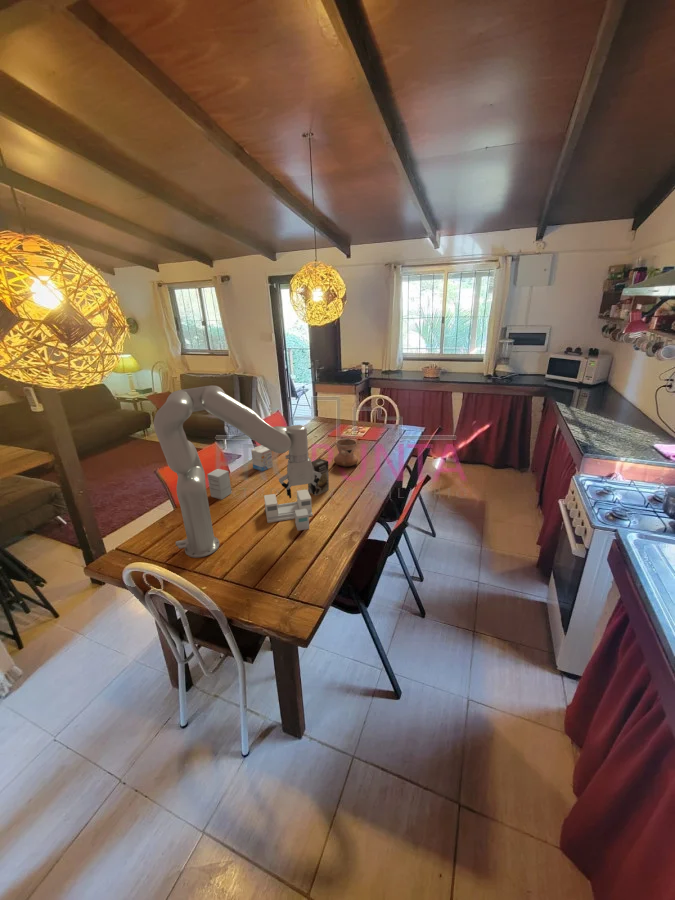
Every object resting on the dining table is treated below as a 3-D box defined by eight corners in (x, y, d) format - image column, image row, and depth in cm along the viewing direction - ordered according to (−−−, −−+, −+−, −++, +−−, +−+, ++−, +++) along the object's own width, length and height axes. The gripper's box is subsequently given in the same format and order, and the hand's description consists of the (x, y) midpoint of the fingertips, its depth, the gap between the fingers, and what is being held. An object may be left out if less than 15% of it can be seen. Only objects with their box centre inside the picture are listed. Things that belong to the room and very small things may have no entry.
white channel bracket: (267, 522, 150) (266, 506, 147) (265, 508, 160) (263, 493, 158) (312, 515, 155) (312, 500, 152) (307, 502, 166) (306, 487, 163)
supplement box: (221, 490, 178) (217, 468, 173) (232, 493, 175) (229, 470, 170) (210, 496, 172) (206, 473, 167) (221, 499, 169) (218, 476, 164)
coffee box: (316, 496, 171) (315, 466, 165) (307, 492, 175) (306, 463, 170) (329, 489, 178) (328, 461, 172) (320, 485, 182) (319, 457, 176)
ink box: (262, 471, 199) (260, 450, 194) (252, 468, 203) (250, 447, 198) (273, 466, 205) (271, 445, 200) (263, 463, 210) (261, 442, 205)
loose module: (297, 531, 144) (296, 516, 141) (295, 524, 149) (294, 510, 146) (309, 529, 145) (308, 514, 143) (306, 522, 150) (306, 508, 147)
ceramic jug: (354, 470, 199) (355, 447, 194) (330, 468, 202) (330, 445, 197) (360, 459, 215) (361, 438, 210) (338, 457, 218) (338, 435, 213)
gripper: (278, 463, 130) (281, 502, 136) (322, 457, 134) (324, 495, 140) (275, 455, 136) (279, 493, 143) (318, 450, 141) (319, 487, 147)
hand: (301, 494), depth 142 cm, fingers open, 9 cm apart
